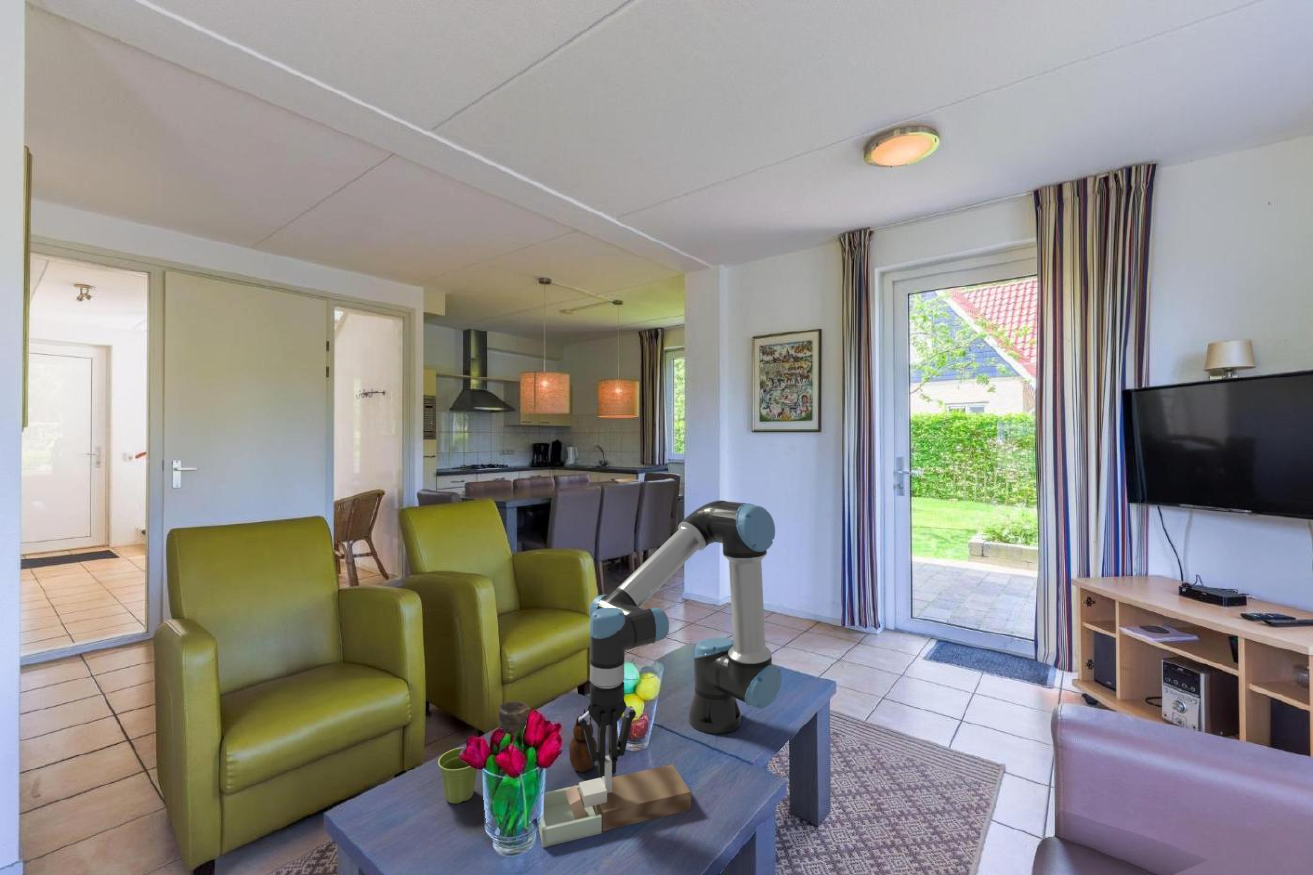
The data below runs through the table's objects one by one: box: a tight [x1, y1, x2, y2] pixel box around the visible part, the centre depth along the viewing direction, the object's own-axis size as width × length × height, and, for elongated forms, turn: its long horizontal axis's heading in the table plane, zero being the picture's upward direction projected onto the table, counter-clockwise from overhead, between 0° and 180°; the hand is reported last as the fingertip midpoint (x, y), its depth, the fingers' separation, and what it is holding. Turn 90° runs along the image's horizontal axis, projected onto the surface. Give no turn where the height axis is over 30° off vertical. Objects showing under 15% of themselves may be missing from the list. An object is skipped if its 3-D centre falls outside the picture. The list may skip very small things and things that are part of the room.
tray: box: [538, 784, 603, 848], centre depth 121 cm, size 12×12×4 cm
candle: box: [498, 701, 531, 735], centre depth 131 cm, size 8×7×20 cm
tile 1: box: [565, 784, 587, 820], centre depth 122 cm, size 5×5×2 cm
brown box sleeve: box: [593, 764, 692, 832], centre depth 127 cm, size 20×11×4 cm, turn 110°
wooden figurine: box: [568, 709, 597, 773], centre depth 141 cm, size 7×6×15 cm
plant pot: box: [437, 746, 478, 804], centre depth 130 cm, size 9×9×9 cm
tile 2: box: [578, 777, 607, 808], centre depth 123 cm, size 5×5×2 cm
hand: (606, 788), depth 124 cm, fingers closed
